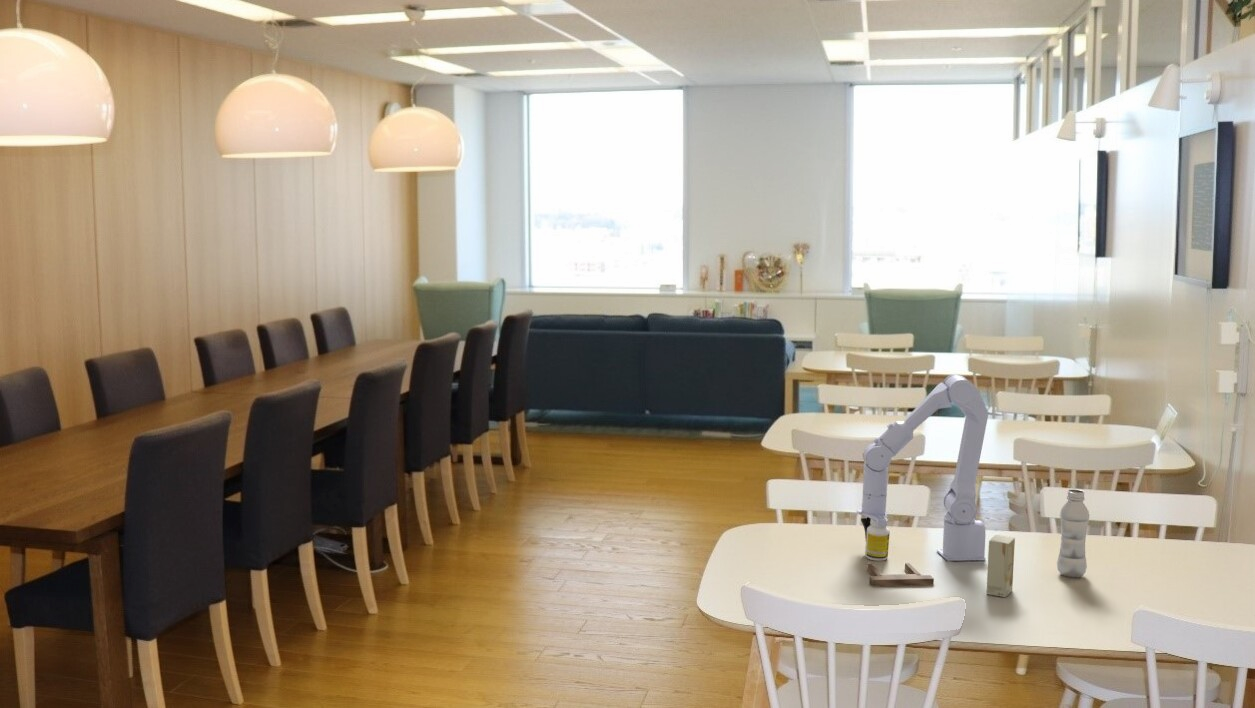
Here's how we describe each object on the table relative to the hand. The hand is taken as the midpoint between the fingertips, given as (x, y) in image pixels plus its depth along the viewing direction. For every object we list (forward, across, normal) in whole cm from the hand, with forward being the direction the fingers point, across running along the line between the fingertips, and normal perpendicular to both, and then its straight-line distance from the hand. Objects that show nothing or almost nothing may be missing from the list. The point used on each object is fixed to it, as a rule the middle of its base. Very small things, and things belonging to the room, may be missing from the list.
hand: (871, 547), depth 285 cm
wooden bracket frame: (+1, +18, +1) cm, 18 cm away
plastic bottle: (+1, +19, +42) cm, 46 cm away
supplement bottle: (+2, +3, 0) cm, 4 cm away
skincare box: (+1, +29, +21) cm, 36 cm away
